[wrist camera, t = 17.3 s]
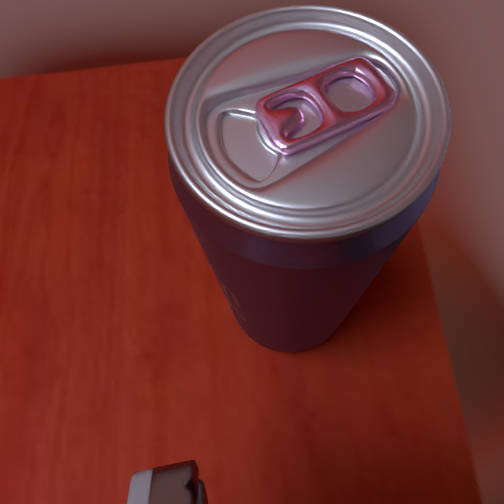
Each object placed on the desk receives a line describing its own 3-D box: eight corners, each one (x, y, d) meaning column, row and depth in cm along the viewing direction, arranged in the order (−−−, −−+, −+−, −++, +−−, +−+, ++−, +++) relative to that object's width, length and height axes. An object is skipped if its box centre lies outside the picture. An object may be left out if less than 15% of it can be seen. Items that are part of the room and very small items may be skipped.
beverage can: (366, 322, 21) (532, 161, 7) (262, 374, 21) (228, 306, 7) (311, 227, 23) (359, -40, 9) (215, 272, 23) (113, 59, 9)
